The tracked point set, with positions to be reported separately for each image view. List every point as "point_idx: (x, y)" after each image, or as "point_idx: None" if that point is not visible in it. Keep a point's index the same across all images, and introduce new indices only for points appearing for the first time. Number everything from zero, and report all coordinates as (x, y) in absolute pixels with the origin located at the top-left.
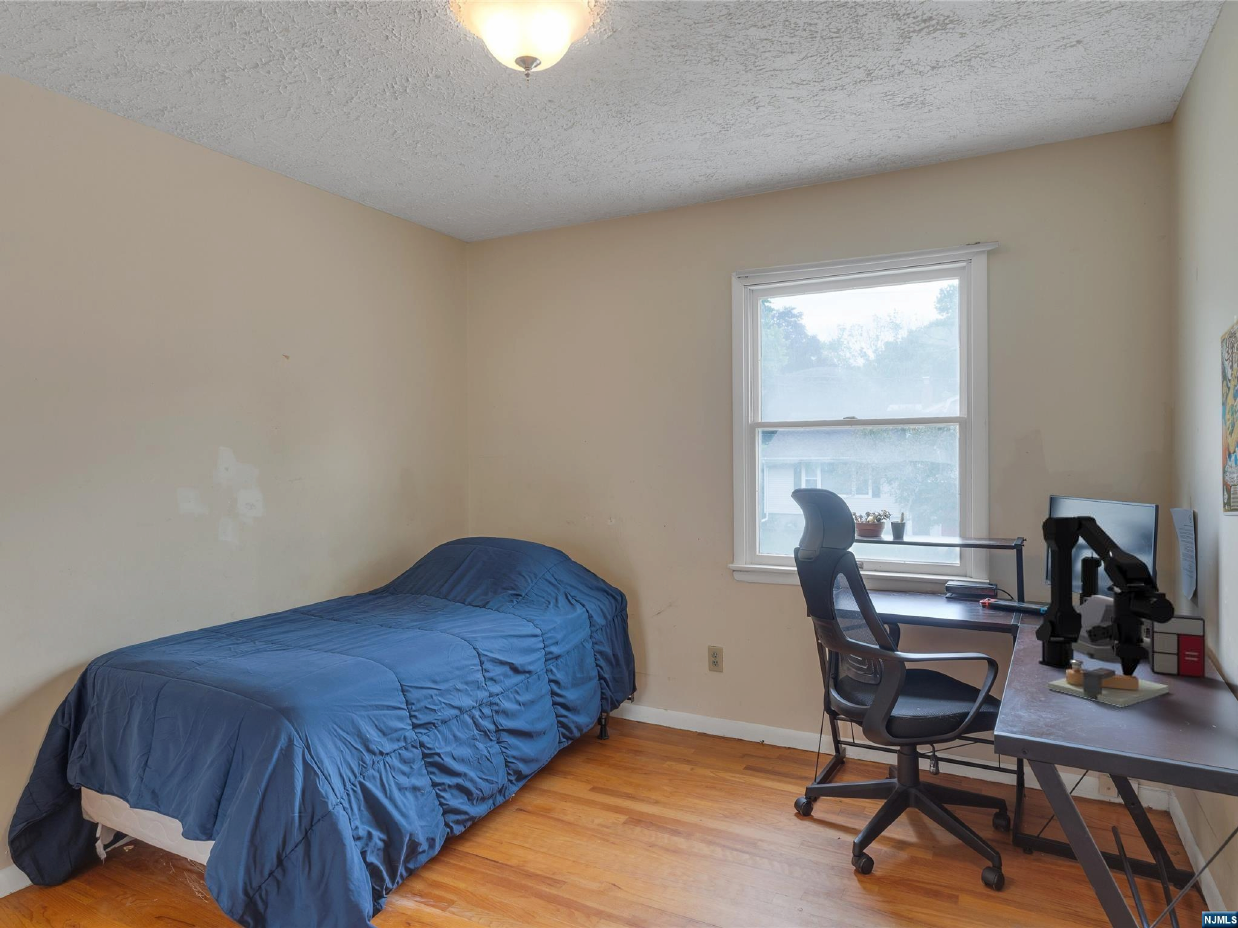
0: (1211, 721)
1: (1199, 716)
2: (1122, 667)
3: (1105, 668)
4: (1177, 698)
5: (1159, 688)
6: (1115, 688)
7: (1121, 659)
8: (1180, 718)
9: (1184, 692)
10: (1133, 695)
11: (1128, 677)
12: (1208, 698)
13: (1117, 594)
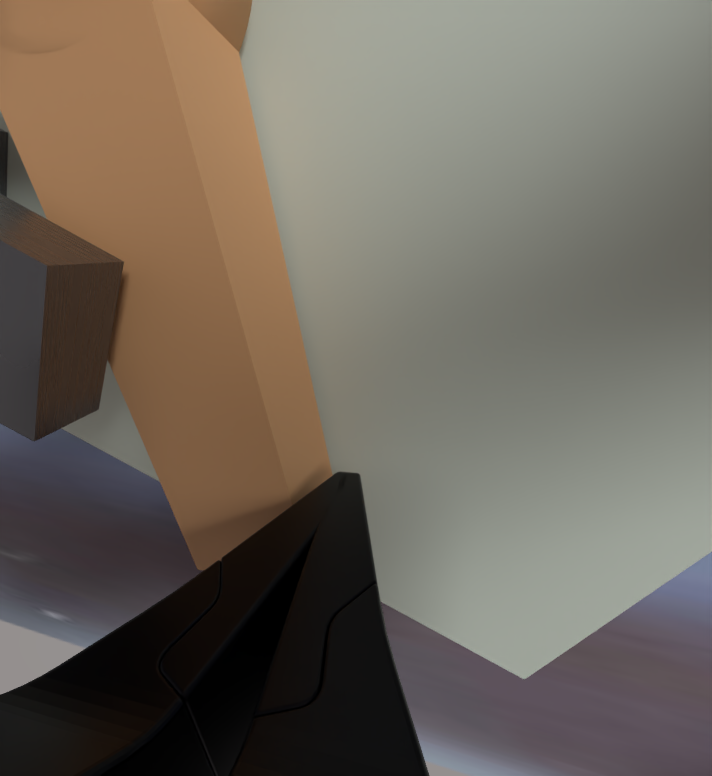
0: (102, 626)
1: (136, 614)
2: (238, 550)
3: (36, 326)
4: (387, 630)
5: (414, 617)
6: None
7: (64, 675)
8: (53, 550)
9: (546, 693)
10: (128, 449)
11: (209, 511)
12: (464, 732)
13: None
